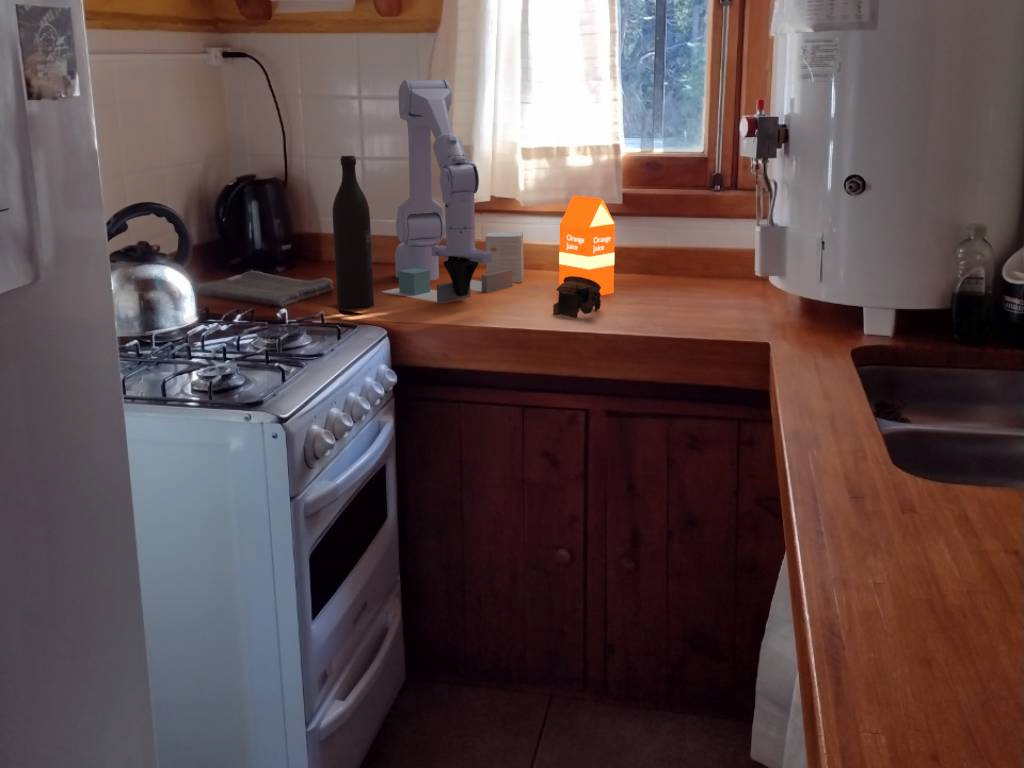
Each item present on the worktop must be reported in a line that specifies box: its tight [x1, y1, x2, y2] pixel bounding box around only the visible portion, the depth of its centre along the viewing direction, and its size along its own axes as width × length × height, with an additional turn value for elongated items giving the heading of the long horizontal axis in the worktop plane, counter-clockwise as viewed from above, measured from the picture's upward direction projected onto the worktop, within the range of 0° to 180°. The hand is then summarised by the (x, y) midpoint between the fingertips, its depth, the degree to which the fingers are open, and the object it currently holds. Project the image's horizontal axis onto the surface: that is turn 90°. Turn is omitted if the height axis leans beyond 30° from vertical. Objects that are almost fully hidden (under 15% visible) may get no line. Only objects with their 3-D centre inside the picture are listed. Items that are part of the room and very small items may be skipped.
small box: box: [485, 231, 525, 284], centre depth 236 cm, size 8×6×10 cm
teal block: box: [398, 268, 431, 295], centre depth 219 cm, size 4×4×4 cm
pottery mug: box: [552, 276, 602, 319], centre depth 204 cm, size 12×10×8 cm
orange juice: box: [558, 195, 616, 296], centre depth 221 cm, size 8×9×20 cm
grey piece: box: [381, 281, 471, 304], centre depth 217 cm, size 18×8×4 cm, turn 49°
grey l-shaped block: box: [470, 269, 514, 294], centre depth 225 cm, size 14×8×4 cm, turn 49°
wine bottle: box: [332, 155, 375, 316], centre depth 204 cm, size 7×7×30 cm
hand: (461, 295), depth 211 cm, fingers closed
